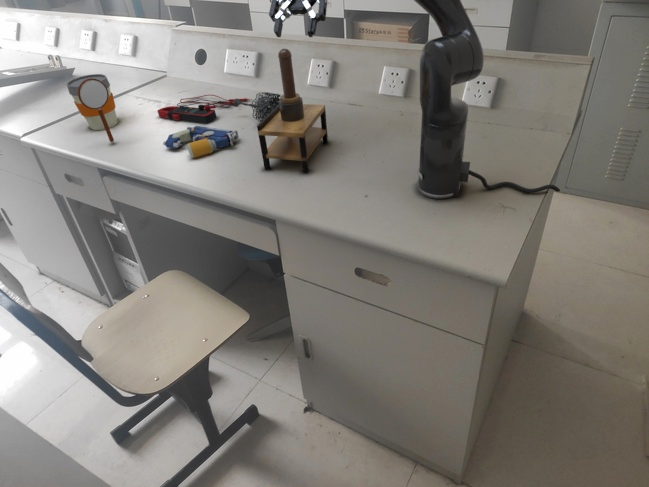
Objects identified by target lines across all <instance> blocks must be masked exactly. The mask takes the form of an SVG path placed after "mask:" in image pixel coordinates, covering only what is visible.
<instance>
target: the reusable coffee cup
mask: <svg viewBox="0 0 649 487" xmlns="http://www.w3.org/2000/svg"><path fill="white" fill-rule="evenodd" d="M90 78H94V79H98V80H100V81H101V82H102V83H104V85H105V86H106V87H107V90H108V101H107V103H106V104H105V105H104V106H103V107H102V108H101V109H102V111H103V114H104V116H105V119H106V121H107V124H108V126H109V129H111V128H113V127H115V126H116V125H117V124H118V117H117V113H116V102H115V99H114V98H115V97H114V95H113V94H114V93H113V92H112V91H111V83H110V81H109V79H108V77H107V75H105V74H102V73H93V74H87V75H86V74H85V75H82V76H78V77H75V78H72V79H71V80H69V81H67V83H66V87H67V90H68V94H69V95H70V96H71V97H72V100H74V101H73V103H74V105H75V106H76V108H77V110H78V112H79V113H80V116H82V117H83V118H84V119H85V121H86V123H87V125H88V127H89V128H90V129H91V130H92V131H103V130H105V127H104V125H103V122H102V120H101V117H100V115H99V112H98V109H89V108H87V107H85V106H84V105H83V104H82V103H81V101H80V100H79V97H78V88H79V86H80V84H81V83H82V82H83V81H84V80H86V79H90Z"/></svg>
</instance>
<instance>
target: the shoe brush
mask: <svg viewBox="0 0 649 487" xmlns="http://www.w3.org/2000/svg"><path fill="white" fill-rule="evenodd" d="M292 57H293V56H292V52H291V50H289V49H288V48H281V49H280V50H279V51H278V53H277V58H278V61H279V69H280V76H281V84H282V90H283V94H282V95H281V97H280V98H281V99H280V98H279V99H280V100H279V106H280V113H281V119H282V120H283V121H287V122H293V121H298V120H301V119H302V118H304V109H303V104H304V101H303V97H301V96H300V94H299V93H297V92H296V84H295V77H294V67H293V59H292Z"/></svg>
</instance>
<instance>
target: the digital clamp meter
mask: <svg viewBox="0 0 649 487" xmlns="http://www.w3.org/2000/svg"><path fill="white" fill-rule="evenodd" d="M207 96H211V97H212V96H213V97H216V98H219V99H221V100H222V101H221V100H218V101H217V100H209V99H198V98H202V97H207ZM191 99H196V100H191ZM235 99H236V98H233V99H231V98H230V99H226V98H223V97H221V96H219V95H215V94H203V95H199V96H194V97H186V98H180V100H179V102H178V103H177V104H176V105H172V106H171V105H170V106H165V107H161V108H159V109H158V110H157V115H158V117H159V118H165V119H168V120H174V121H180V122H181V121H182V122H187V123H188V122H190V123H197V124H203V125H204V124H205V125H207V124H210V123H213V122H214V121H215V120H216V119H217V114H216V110H215V109H216V108H217V107H218V108H225V106H226V105H227V108H230V107H231V106H234V100H235ZM238 99H239V101H240V102H246V101H249V100H250V101H253V98H246V97H244V98H238ZM183 100H184V101H183ZM186 100H188V101H186ZM200 101H201V102H200ZM203 101H204V102H203ZM188 103H190V104H188ZM180 104H184V105H180ZM219 104H220V105H219ZM193 105H198V106H197V107H194V106H193Z"/></svg>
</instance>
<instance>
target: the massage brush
mask: <svg viewBox="0 0 649 487" xmlns="http://www.w3.org/2000/svg"><path fill="white" fill-rule="evenodd" d="M281 96H282V95H281V94H278V93H274V92H273V93H272V92H264V91H263V92H261V91H260V92H258V93H256V96H255V98H254V100H252V101H251V103H248V102H244V101H239V99H240V98H234V99H235V100H234V102H233V103H234V105H233V106H234V107H235V108H236V107H239V106H240V105H242V106H249V107H251V109H252V117H253V118H254V119H255V120H256V121H258V122H259V123H261V122H262V121H263V120H264V119H265V117H266V116H267V115H268V114H269V113H270V112H271V111H272V110H273V109H274V108H275V107H276V106H277V105H278V104H279V100H280V99H281Z"/></svg>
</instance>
